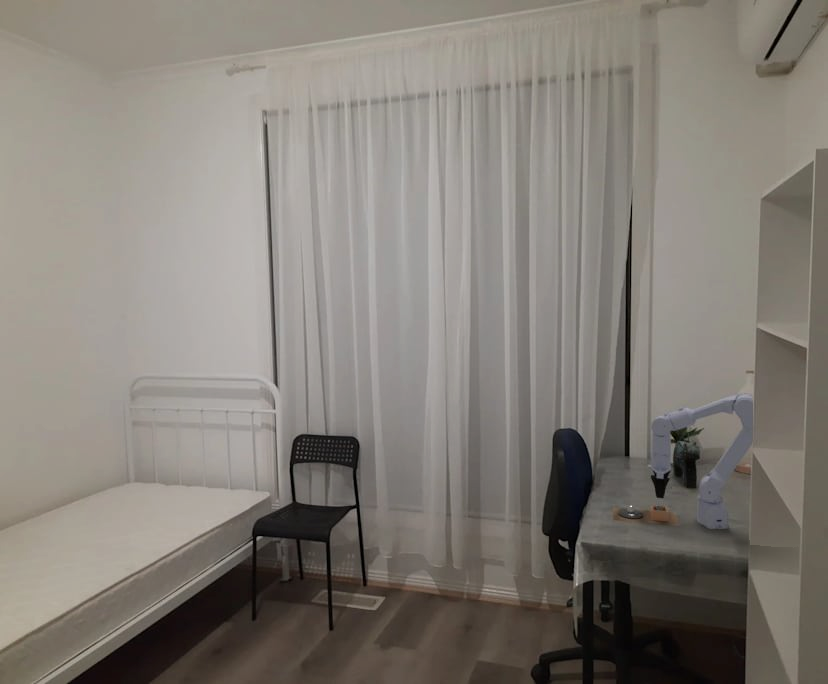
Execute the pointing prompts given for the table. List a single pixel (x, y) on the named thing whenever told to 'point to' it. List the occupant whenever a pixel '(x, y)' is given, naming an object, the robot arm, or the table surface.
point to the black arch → (686, 461)
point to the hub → (631, 513)
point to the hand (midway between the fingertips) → (660, 494)
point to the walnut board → (647, 518)
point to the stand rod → (659, 508)
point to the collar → (659, 513)
